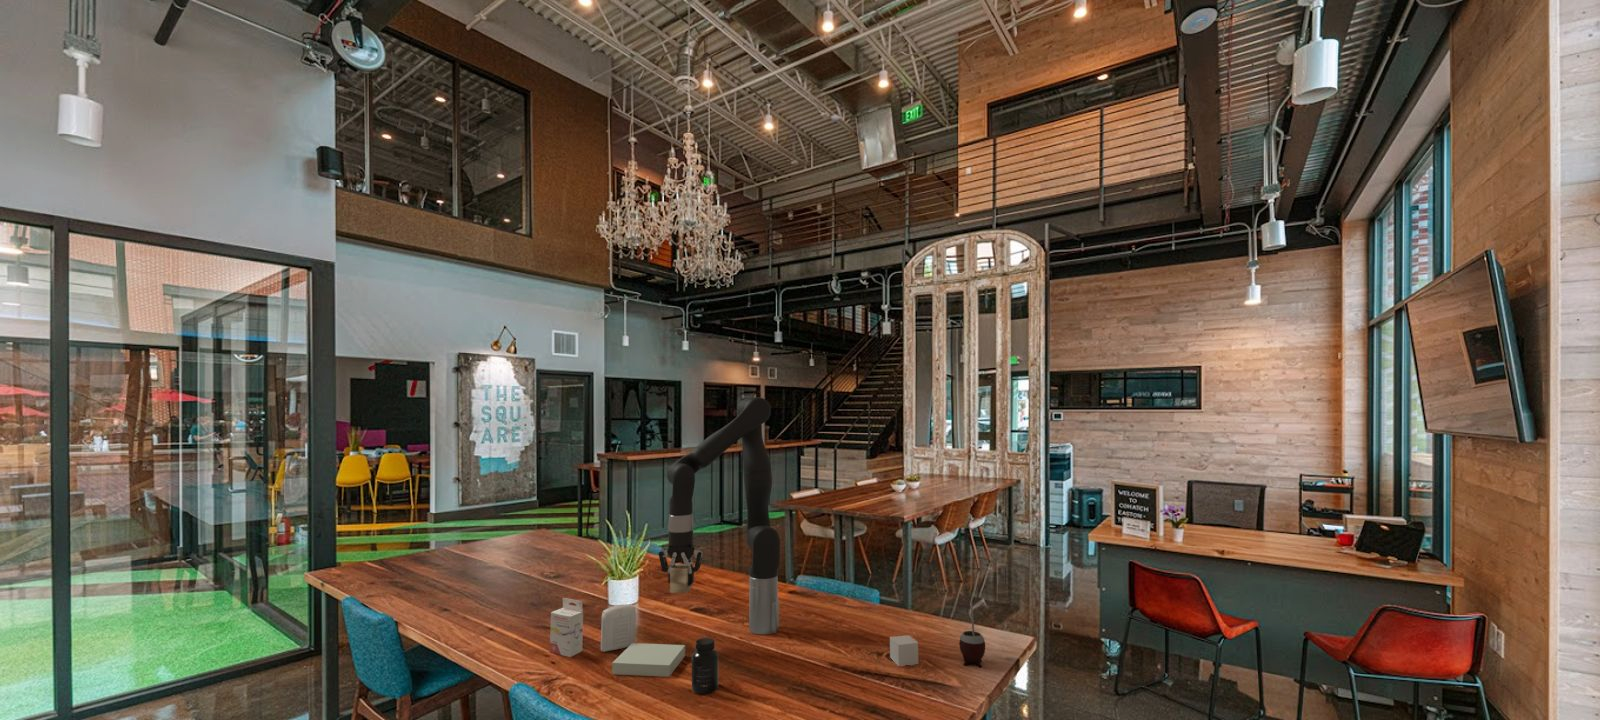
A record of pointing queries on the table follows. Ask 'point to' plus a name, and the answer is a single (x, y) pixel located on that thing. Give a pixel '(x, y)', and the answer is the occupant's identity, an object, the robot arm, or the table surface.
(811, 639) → the table surface
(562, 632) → the ink cartridge box
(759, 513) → the robot arm
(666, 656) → the base plate
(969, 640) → the mate gourd
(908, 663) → the grey cube
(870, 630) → the table surface
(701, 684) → the supplement bottle
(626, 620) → the photo printer
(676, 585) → the birch block
